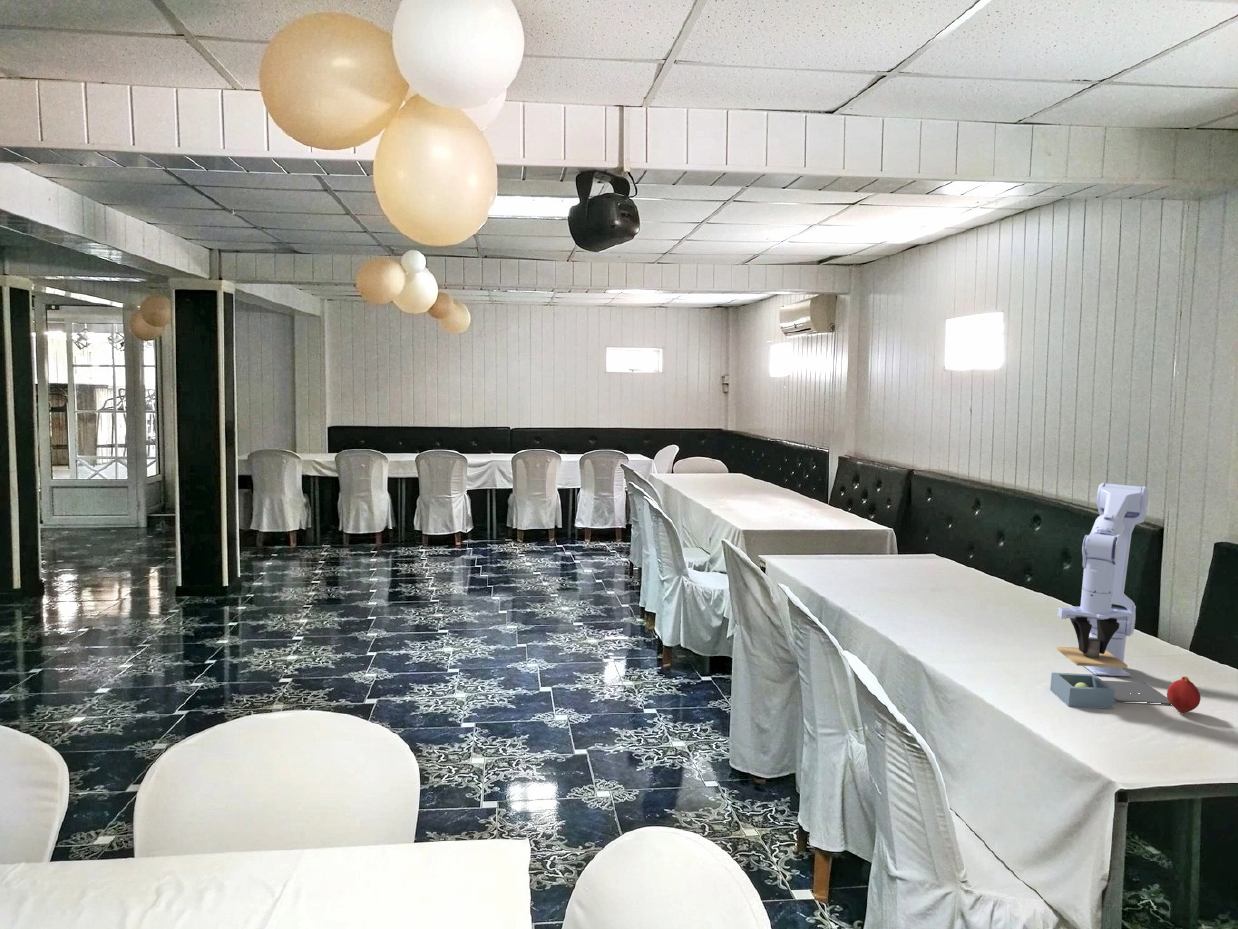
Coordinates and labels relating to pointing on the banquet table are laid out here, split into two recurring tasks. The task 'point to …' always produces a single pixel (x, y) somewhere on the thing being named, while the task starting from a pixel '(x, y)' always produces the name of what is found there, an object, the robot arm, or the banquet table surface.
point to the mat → (1136, 692)
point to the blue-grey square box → (1082, 690)
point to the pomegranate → (1183, 695)
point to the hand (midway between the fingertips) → (1091, 651)
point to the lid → (1092, 655)
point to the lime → (1081, 685)
